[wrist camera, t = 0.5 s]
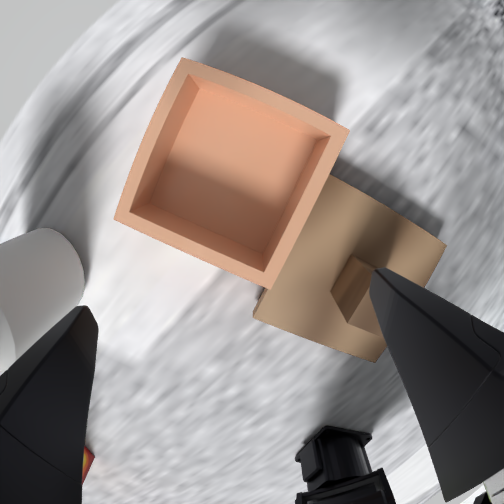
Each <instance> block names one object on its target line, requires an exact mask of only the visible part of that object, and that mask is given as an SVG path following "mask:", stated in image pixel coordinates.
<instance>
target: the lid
mask: <svg viewBox="0 0 504 504" xmlns="http://www.w3.org/2000/svg"><path fill="white" fill-rule="evenodd" d="M446 246H447V245H446V244H444V243H443V242H442V241H440V240H439V239H437V238H436V237H434V236H433V235H431V234H430V233H428V232H427V231H425V230H424V229H422V228H421V227H419V226H417V225H416V224H414V223H413V222H411V221H410V220H408V219H406V218H405V217H403V216H402V215H400V214H398V213H397V212H395V211H394V210H392V209H390V208H389V207H387V206H385V205H384V204H382V203H380V202H379V201H377V200H375V199H373V198H372V197H370V196H368V195H367V194H365V193H363V192H361V191H360V190H358V189H356V188H354V187H352V186H351V185H349V184H347V183H345V182H343V181H342V180H340V179H338V178H336V177H334V176H332V175H330V174H329V176H328V178H327V180H326V182H325V184H324V186H323V188H322V190H321V192H320V194H319V196H318V198H317V200H316V202H315V204H314V206H313V208H312V210H311V212H310V214H309V216H308V218H307V220H306V222H305V224H304V226H303V228H302V230H301V232H300V234H299V236H298V238H297V240H296V242H295V244H294V246H293V248H292V250H291V252H290V254H289V256H288V257H287V259H286V261H285V263H284V265H283V267H282V269H281V271H280V273H279V275H278V277H277V279H276V281H275V282H274V284H273V286H272V288H271V290H269V289H267V288H265V289H264V291H263V293H262V295H261V297H260V299H259V301H258V303H257V305H256V307H255V308H254V310H253V318H255V319H257V320H260V321H262V322H265V323H267V324H270V325H272V326H275V327H277V328H280V329H282V330H285V331H288V332H290V333H293V334H295V335H298V336H301V337H303V338H306V339H309V340H311V341H314V342H317V343H319V344H322V345H325V346H328V347H330V348H333V349H336V350H339V351H342V352H344V353H347V354H350V355H353V356H356V357H359V358H362V359H365V360H368V361H371V362H374V363H375V362H376V361H377V359H378V358H379V357H380V355H381V354H382V353H383V351H384V350H385V348H386V347H387V344H386V342H385V340H384V337H383V335H382V332H381V329H380V326H379V323H378V320H377V317H376V314H375V311H374V308H373V305H372V302H371V299H370V296H369V287H370V281H371V275H372V271H373V270H374V269H377V268H383V267H386V268H388V269H390V270H392V271H394V272H395V273H397V274H399V275H401V276H403V277H405V278H407V279H408V280H410V281H412V282H414V283H416V284H418V285H420V286H421V287H423V288H424V287H425V285H426V284H427V282H428V280H429V278H430V277H431V275H432V273H433V271H434V269H435V267H436V266H437V264H438V262H439V260H440V258H441V256H442V254H443V252H444V250H445V248H446Z"/></svg>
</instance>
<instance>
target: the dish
mask: <svg viewBox="0 0 504 504" xmlns="http://www.w3.org/2000/svg"><path fill="white" fill-rule="evenodd" d="M349 132H350V130H349V129H347V128H345V127H343V126H341V125H340V124H338V123H336V122H334V121H332V120H330V119H329V118H327V117H325V116H323V115H321V114H319V113H317V112H315V111H313V110H311V109H309V108H307V107H305V106H303V105H301V104H299V103H297V102H295V101H293V100H291V99H288V98H286V97H284V96H282V95H280V94H278V93H275V92H273V91H271V90H269V89H266V88H264V87H262V86H259V85H257V84H254V83H252V82H250V81H247V80H245V79H242V78H240V77H237V76H234V75H232V74H229V73H227V72H224V71H221V70H218V69H216V68H213V67H210V66H207V65H204V64H201V63H198V62H195V61H192V60H189V59H186V58H183V57H182V58H181V60H180V62H179V64H178V66H177V67H176V69H175V71H174V73H173V75H172V77H171V79H170V81H169V83H168V85H167V87H166V89H165V91H164V93H163V95H162V97H161V99H160V101H159V103H158V106H157V108H156V110H155V112H154V114H153V117H152V119H151V121H150V123H149V126H148V128H147V130H146V132H145V135H144V137H143V140H142V142H141V144H140V147H139V149H138V152H137V154H136V157H135V159H134V162H133V165H132V167H131V170H130V172H129V175H128V178H127V181H126V183H125V186H124V189H123V192H122V195H121V198H120V201H119V204H118V207H117V210H116V213H115V216H114V220H116V221H118V222H120V223H122V224H124V225H126V226H129V227H131V228H133V229H135V230H137V231H139V232H141V233H144V234H146V235H148V236H150V237H152V238H154V239H157V240H159V241H161V242H163V243H165V244H168V245H170V246H172V247H174V248H176V249H179V250H181V251H183V252H185V253H187V254H190V255H192V256H194V257H196V258H199V259H201V260H203V261H205V262H208V263H210V264H212V265H214V266H217V267H219V268H221V269H223V270H226V271H228V272H230V273H232V274H235V275H237V276H239V277H242V278H244V279H246V280H249V281H251V282H253V283H256V284H258V285H260V286H262V287H265V288H267V289H269V290H271V288H272V286H273V284H274V282H275V281H276V279H277V277H278V275H279V273H280V271H281V269H282V267H283V265H284V263H285V261H286V259H287V257H288V256H289V254H290V252H291V250H292V248H293V246H294V244H295V242H296V240H297V238H298V236H299V234H300V232H301V230H302V228H303V226H304V224H305V222H306V220H307V218H308V216H309V214H310V212H311V210H312V208H313V206H314V204H315V202H316V200H317V198H318V196H319V194H320V192H321V190H322V188H323V186H324V184H325V182H326V180H327V178H328V176H329V174H330V171H331V169H332V167H333V165H334V163H335V161H336V159H337V157H338V155H339V153H340V151H341V149H342V146H343V144H344V142H345V140H346V138H347V136H348V134H349Z"/></svg>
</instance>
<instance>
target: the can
mask: <svg viewBox="0 0 504 504" xmlns="http://www.w3.org/2000/svg"><path fill="white" fill-rule="evenodd" d="M84 286H85V280H84V270H83V267H82V264H81V261H80V258H79V256H78V254H77V252H76V251H75V249H74V247H73V246H72V244H71V243H70V242H69V241H68V240H67V239H66V238H65V237H64V236H63V235H62V234H61V233H59V232H57V231H55V230H53V229H51V228H38V229H35V230H33V231H30V232H28V233H25V234H23V235H20V236H18V237H16V238H13V239H11V240H8V241H6V242H4V243H1V244H0V372H5V371H6V370H8V368H9V367H10V366H11V365H12V364H13V363H14V362H15V361H16V360H17V359H18V358H19V357H20V356H21V355H23V354H24V353H25V352H26V351H27V350H28V349H29V348H30V347H31V346H32V345H33V344H34V343H35V342H36V341H37V340H39V339H40V338H41V337H42V336H43V335H44V334H45V333H46V332H47V331H48V330H50V329H51V328H52V327H53V326H54V325H55V324H56V323H57V322H59V321H60V320H61V319H62V318H63V317H64V316H65V315H66V314H68V313H69V312H70V311H71V310H72V309H73V308H75V307H76V306H77V305H78V303H79V302H80V300H81V298H82V297H83V292H84Z"/></svg>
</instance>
